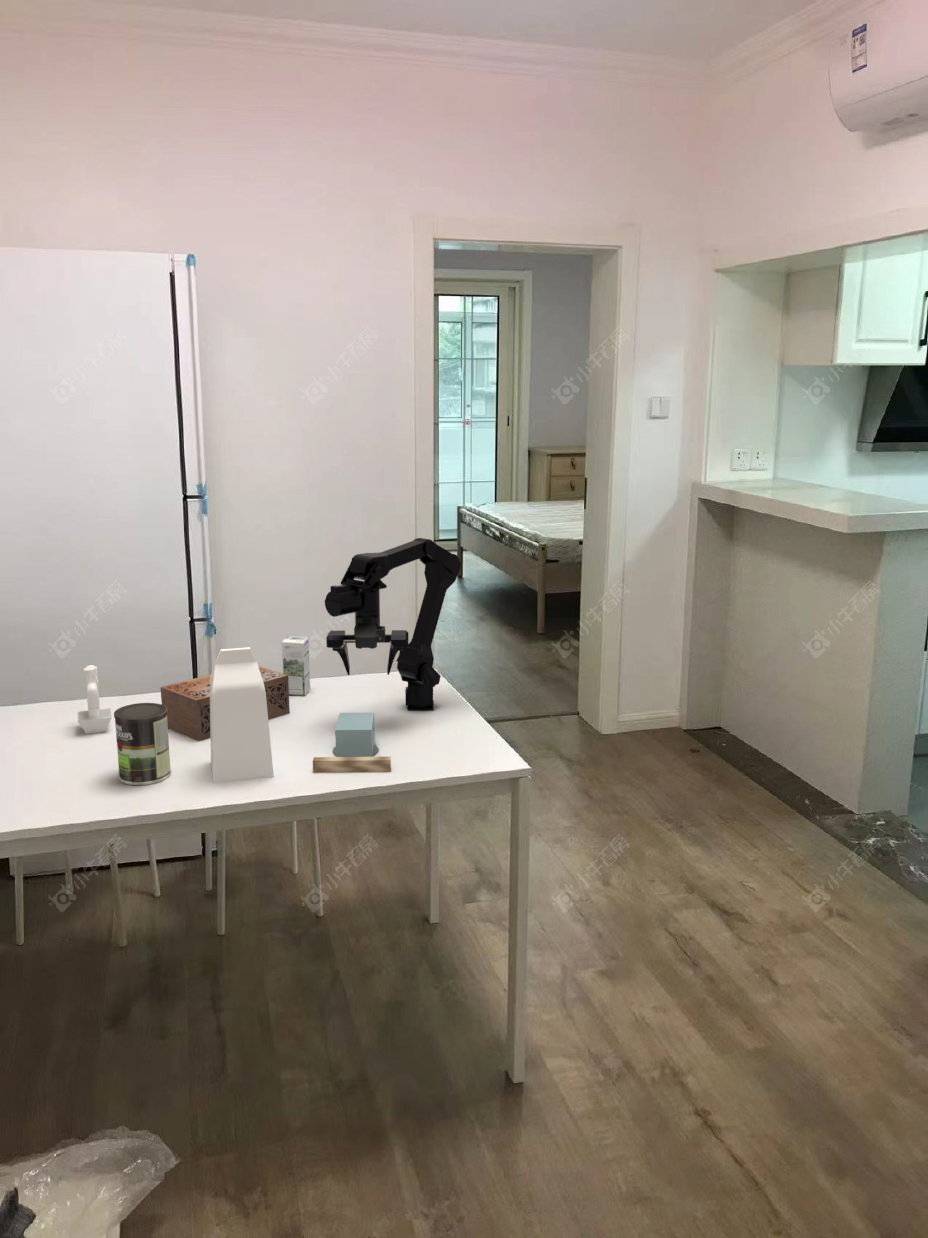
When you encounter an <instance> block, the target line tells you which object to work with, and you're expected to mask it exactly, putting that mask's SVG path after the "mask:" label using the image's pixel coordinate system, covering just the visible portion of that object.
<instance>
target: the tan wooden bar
mask: <svg viewBox="0 0 928 1238" xmlns="http://www.w3.org/2000/svg"><path fill="white" fill-rule="evenodd" d="M391 762H392V759H391V756H373V757H336V756H323V757H321V756H317V757H316V756H315V757H314V756H313V759H312V773H356V772H358V773H360V772H361V773H364V772H369V773H370V772H371V773H372V772H375V773H376V772H377V773H378V772H379V773H380V772H391V770H392V769H391V768H392V763H391Z"/></svg>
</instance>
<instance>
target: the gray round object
mask: <svg viewBox="0 0 928 1238" xmlns="http://www.w3.org/2000/svg"><path fill="white" fill-rule="evenodd" d="M379 751H380V749H379V747H378V745H377V744H374V749H373V757H375V755H377V754H379ZM332 753H333V756H334V757H336V746H335V747H334V748H333V749H332Z"/></svg>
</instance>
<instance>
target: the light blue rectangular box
mask: <svg viewBox="0 0 928 1238" xmlns="http://www.w3.org/2000/svg"><path fill="white" fill-rule="evenodd" d="M334 730H335V731H334V733H335V734H334V735H335V747H336V756H335V757H374V756H373V749H374V745H375V742H376V740H375V739H376V737H375V735H376V733H375V731H376V730H375V712H339V714H338V718H337V722H336V725H335V729H334Z"/></svg>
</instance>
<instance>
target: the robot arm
mask: <svg viewBox="0 0 928 1238" xmlns="http://www.w3.org/2000/svg"><path fill="white" fill-rule="evenodd" d="M417 560H419V561H420V562H421V563H422V564H423V565H424V571H423V573H424V577H425V581H426V588H425V591H424V595H423V598H422V602H421V606H420V610H419V613H418V616H417V619H416V623H415V627H414V631H413V634H412V638H411V639H410V642H409V632H408V630H406V629H401V630H399V629H394V630H392V629H391V633H389V634H388V633H386V626H385V625H381V608H380V607H381V603H380V601H381V600H380V595H381V593H380V592H381V591H380V590H383V589H387V584H386V583H384V582H383V581H382V579H384V578H385V577H387V576H388V575H389V573H390V571H392V570H393V569H396V568H398V567H401V566H403V565H405V564H410V563H412V562H414V561H417ZM461 565H462V563H461V560H460V558H459V556H458V555H457V554H454V553H452V552H450V551H448V550H446V549H445V548H444V547H442V546H440V545H438V543H436V542H435V541H433V540H432V539H429V538H422V537H417V538H414V539H413V540H412V541H409V542H406V543H403V544H400V545H398V546H395V547H392V548H389V549H387V550H384V551H380V552H366V553H358V554H357V553H356V554H355V555H353V557H351V561H350V562H349V565H348V567H347V568H346V572H345V573H344V575H343V577H342V579H341V581H340V585H339V584H338V585H336V584H335V585H331V586H330V591H329V592H328V593H327V594H326V596H325V599H324V606H325V609H326V612H327V613H328V615H330V616H331V617H332V618H333V617H335V618H336V617H341V616H345V615H350V614H354V620H355V621H354V628H353V634H346V630H343V629H342V630H330V631H328V633H327V635H326V639H325V640H326V644H325V645H326V648H328V649H331V648H332V651H333V652H337V654H338V655H339V656H340V658H341V660H342V663H343V666H344V668H345V672H346V674H347V675H348V676H350V674H351V665H350V659H349V658H350V656H349V651H348V650H349V649H348V644H354V645H355V648H356V649H359V650H361V649H370V650H371V649H372V650H374V649H376V648H377V647H378V643H381V644H383V643H387V644H389V643H390V646H389V652H388V654H389V655H388V660H387V667H386V668H387V669H386V670H387V673H386V674H387V675H388V676H389V675H390V673H391V670H392V666H393V663H394V660H395V658H396V655H397V654H398V657H397V659H396V661H395V662H397V664H396V669H397V671H398V674H399V675H400V679H401V681H403V682H407V686H405V699H404V700H405V706H407V708H406V709H407V710H408V711H433V710H435V703H434V701H435V700H434V688H435V687H436V686H437V685H439V684H440V681H441V677H442V676H441V674H440V673H439V672H438V671H437V670H436V669H435V668H434V667H433V665H434V660H435V658H434V653H433V650H432V644H433V640H434V637H435V633H436V630H437V629H436V628H437V625H438V621H439V619H440V615H441V611H442V608H443V604H444V600H445V597H446V593H447V591H448V590H449V588H450V587H451V586H452V585H453V584H454V583H455V582H456V580H457V577H458V576H459V573H460V570H461V567H462V566H461ZM398 652H399V653H398Z"/></svg>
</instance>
